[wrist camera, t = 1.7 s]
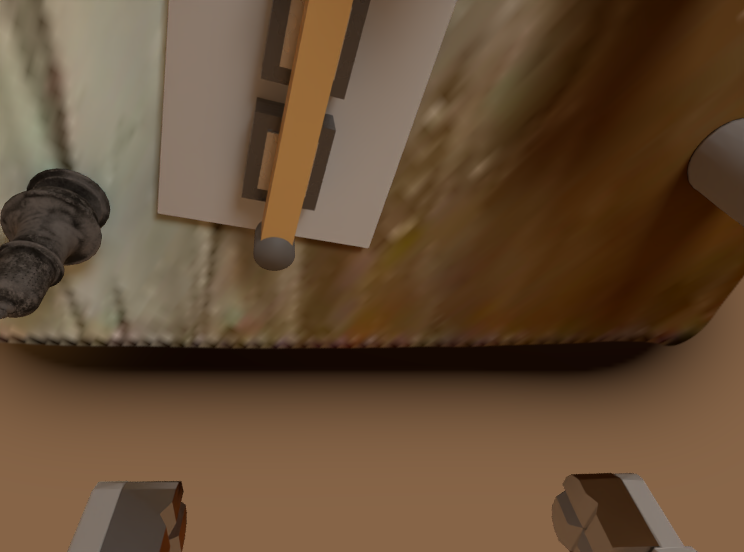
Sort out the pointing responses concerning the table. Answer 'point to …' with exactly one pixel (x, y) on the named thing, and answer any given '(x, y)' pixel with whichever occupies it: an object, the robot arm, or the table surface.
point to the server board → (244, 84)
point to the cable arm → (300, 128)
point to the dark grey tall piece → (47, 236)
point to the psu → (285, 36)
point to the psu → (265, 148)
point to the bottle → (721, 169)
